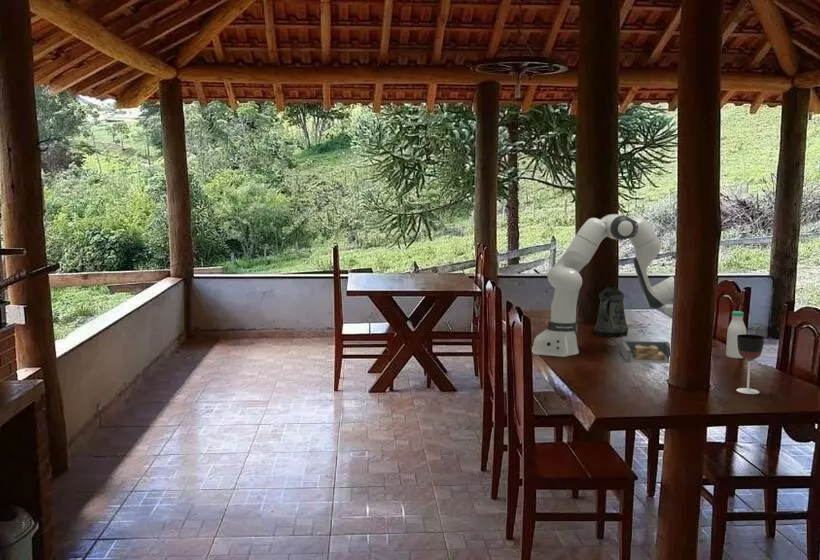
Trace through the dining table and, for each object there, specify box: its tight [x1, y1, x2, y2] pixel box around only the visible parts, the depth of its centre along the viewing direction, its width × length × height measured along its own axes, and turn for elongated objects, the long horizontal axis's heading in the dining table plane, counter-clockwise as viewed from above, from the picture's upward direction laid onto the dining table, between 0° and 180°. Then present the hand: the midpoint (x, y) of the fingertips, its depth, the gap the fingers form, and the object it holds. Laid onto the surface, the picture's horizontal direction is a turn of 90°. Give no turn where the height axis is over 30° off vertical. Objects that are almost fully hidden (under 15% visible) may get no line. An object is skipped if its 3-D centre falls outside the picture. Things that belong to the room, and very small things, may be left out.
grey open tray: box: [620, 340, 671, 364], centre depth 296 cm, size 20×20×6 cm
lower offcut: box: [633, 351, 665, 360], centre depth 295 cm, size 12×6×2 cm, turn 80°
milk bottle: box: [725, 310, 748, 359], centre depth 302 cm, size 8×8×20 cm
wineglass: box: [736, 334, 765, 395], centre depth 249 cm, size 8×9×20 cm
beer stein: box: [594, 285, 629, 338], centre depth 351 cm, size 16×19×25 cm
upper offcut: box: [634, 346, 658, 354], centre depth 295 cm, size 9×5×2 cm, turn 80°
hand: (692, 312), depth 295 cm, fingers closed on birch strip, 3 cm apart
